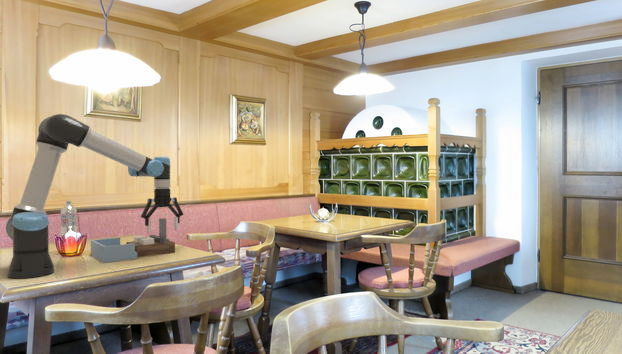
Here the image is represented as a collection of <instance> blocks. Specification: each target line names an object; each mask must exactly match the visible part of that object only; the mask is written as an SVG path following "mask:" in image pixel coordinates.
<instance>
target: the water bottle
mask: <svg viewBox="0 0 622 354" xmlns="http://www.w3.org/2000/svg"><path fill="white" fill-rule="evenodd" d="M71 203H72V202H71V201H70V200H69V201H66V204H65V205H64V206H63V207H62V208H61V210H60V236H61V235H63V234H66V233H67V232H68V231H69V230H72V231H74V232H77V233H78V225H77V224H78V222H77V217H78V216H77V211H78V210H77V208H76V207H75V206H74V205H73V204H71Z"/></svg>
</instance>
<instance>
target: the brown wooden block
mask: <svg viewBox="0 0 622 354" xmlns="http://www.w3.org/2000/svg"><path fill="white" fill-rule="evenodd" d="M133 243H135V242H134V240H133V241H126V243H125V244H133ZM135 251H136V252H137V258H141V257H142V258H143V257H150V256H157V255H168V254H174V253H176V242H175V241H173V240H170V239H169V241H166V242H164V243H162V244H160V243H157V242H154V244H149V245H142V244H140V243H135Z"/></svg>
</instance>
